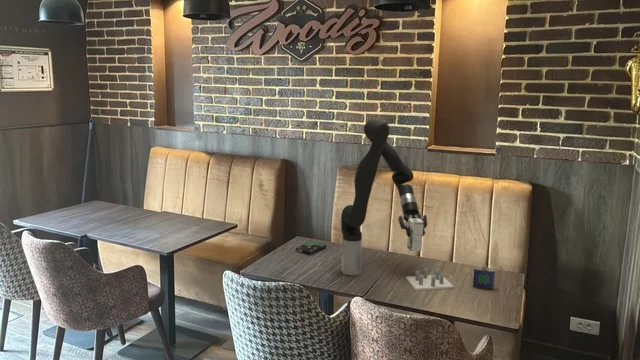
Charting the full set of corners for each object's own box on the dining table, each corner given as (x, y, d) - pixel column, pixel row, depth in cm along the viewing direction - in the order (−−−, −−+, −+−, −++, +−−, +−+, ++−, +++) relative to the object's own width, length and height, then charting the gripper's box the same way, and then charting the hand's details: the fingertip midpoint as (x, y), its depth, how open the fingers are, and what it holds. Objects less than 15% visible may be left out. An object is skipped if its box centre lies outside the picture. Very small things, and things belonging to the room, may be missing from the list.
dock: (415, 290, 235) (416, 279, 234) (405, 278, 249) (406, 267, 248) (453, 288, 238) (454, 277, 237) (441, 276, 251) (442, 265, 250)
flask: (493, 287, 239) (495, 265, 237) (494, 290, 236) (495, 268, 234) (472, 285, 242) (474, 263, 239) (472, 288, 239) (474, 265, 237)
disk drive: (311, 256, 278) (326, 249, 290) (311, 251, 278) (326, 244, 290) (295, 252, 284) (311, 245, 296) (295, 248, 284) (311, 240, 295)
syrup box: (406, 247, 251) (408, 218, 248) (418, 247, 251) (420, 218, 248) (409, 251, 245) (411, 221, 242) (422, 251, 246) (423, 221, 243)
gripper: (397, 201, 250) (404, 232, 241) (425, 200, 252) (433, 231, 243) (393, 209, 256) (399, 240, 247) (421, 208, 258) (428, 238, 249)
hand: (416, 235), depth 245 cm, fingers closed on syrup box, 6 cm apart
